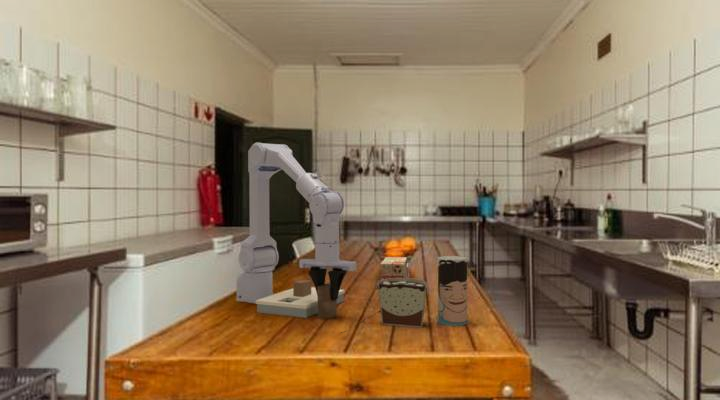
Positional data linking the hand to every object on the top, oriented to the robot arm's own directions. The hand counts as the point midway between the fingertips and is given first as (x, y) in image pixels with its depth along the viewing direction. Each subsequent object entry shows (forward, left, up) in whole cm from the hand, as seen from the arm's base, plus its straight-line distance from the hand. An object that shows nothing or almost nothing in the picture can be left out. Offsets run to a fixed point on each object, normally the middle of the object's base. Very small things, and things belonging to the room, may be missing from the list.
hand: (327, 299), depth 126 cm
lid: (-11, +7, -2) cm, 13 cm away
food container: (+18, +5, -5) cm, 19 cm away
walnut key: (0, 0, -4) cm, 4 cm away
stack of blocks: (+8, +25, -5) cm, 27 cm away
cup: (+28, +10, -5) cm, 30 cm away
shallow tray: (-11, +7, -5) cm, 14 cm away
